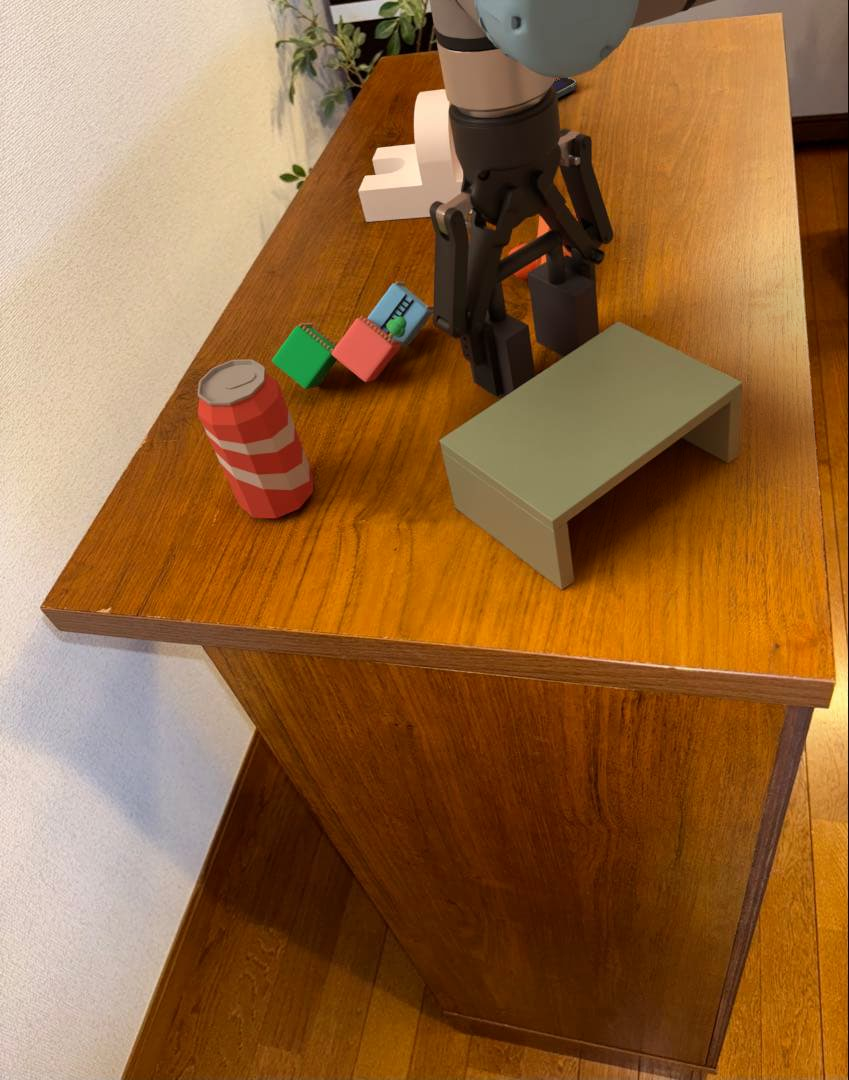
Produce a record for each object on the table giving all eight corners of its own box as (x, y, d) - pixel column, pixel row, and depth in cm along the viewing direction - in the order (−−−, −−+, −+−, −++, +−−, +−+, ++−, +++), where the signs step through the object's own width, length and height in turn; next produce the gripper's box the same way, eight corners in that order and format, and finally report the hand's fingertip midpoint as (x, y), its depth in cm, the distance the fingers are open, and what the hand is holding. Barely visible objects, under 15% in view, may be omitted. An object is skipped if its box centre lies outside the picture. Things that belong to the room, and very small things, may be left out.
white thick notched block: (366, 222, 109) (341, 124, 101) (384, 178, 115) (362, 83, 107) (527, 208, 104) (514, 105, 96) (537, 163, 110) (525, 63, 102)
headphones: (601, 352, 84) (592, 232, 75) (516, 409, 81) (497, 290, 72) (556, 329, 87) (543, 211, 79) (473, 382, 84) (451, 266, 76)
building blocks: (360, 410, 93) (437, 309, 90) (338, 418, 86) (422, 307, 82) (295, 358, 93) (370, 254, 90) (268, 361, 85) (349, 247, 82)
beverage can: (327, 503, 78) (283, 385, 70) (252, 535, 77) (199, 419, 69) (303, 460, 83) (260, 344, 74) (233, 491, 82) (180, 376, 73)
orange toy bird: (568, 252, 86) (572, 184, 94) (492, 283, 89) (502, 215, 97) (590, 297, 89) (592, 228, 97) (516, 326, 92) (524, 256, 100)
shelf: (738, 455, 73) (742, 381, 68) (562, 590, 68) (552, 521, 63) (622, 391, 81) (618, 320, 76) (454, 508, 75) (438, 440, 70)
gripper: (581, 22, 73) (599, 281, 89) (340, 148, 66) (406, 405, 82) (657, 40, 68) (661, 310, 84) (405, 178, 61) (462, 444, 77)
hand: (536, 357), depth 83 cm, fingers closed on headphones, 10 cm apart
